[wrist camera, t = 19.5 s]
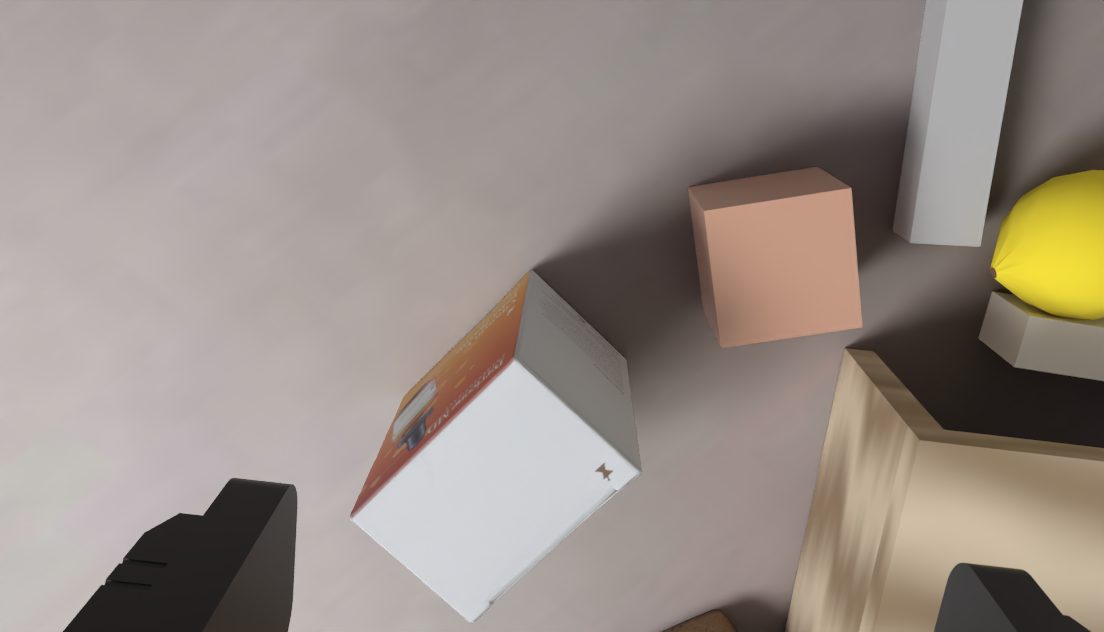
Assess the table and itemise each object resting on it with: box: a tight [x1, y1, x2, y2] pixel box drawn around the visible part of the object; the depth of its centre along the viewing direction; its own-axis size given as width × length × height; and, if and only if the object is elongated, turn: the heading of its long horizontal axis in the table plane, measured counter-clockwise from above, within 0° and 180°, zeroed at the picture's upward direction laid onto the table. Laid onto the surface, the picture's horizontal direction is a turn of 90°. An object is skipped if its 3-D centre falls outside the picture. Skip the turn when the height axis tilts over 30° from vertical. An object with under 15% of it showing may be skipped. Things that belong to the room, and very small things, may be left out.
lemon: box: [990, 170, 1104, 320], centre depth 37 cm, size 7×5×5 cm
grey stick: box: [893, 0, 1023, 247], centre depth 36 cm, size 14×3×2 cm, turn 177°
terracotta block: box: [688, 167, 862, 348], centre depth 37 cm, size 5×5×5 cm
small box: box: [350, 270, 642, 622], centre depth 36 cm, size 8×6×10 cm
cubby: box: [785, 348, 1104, 632], centre depth 39 cm, size 14×16×9 cm
